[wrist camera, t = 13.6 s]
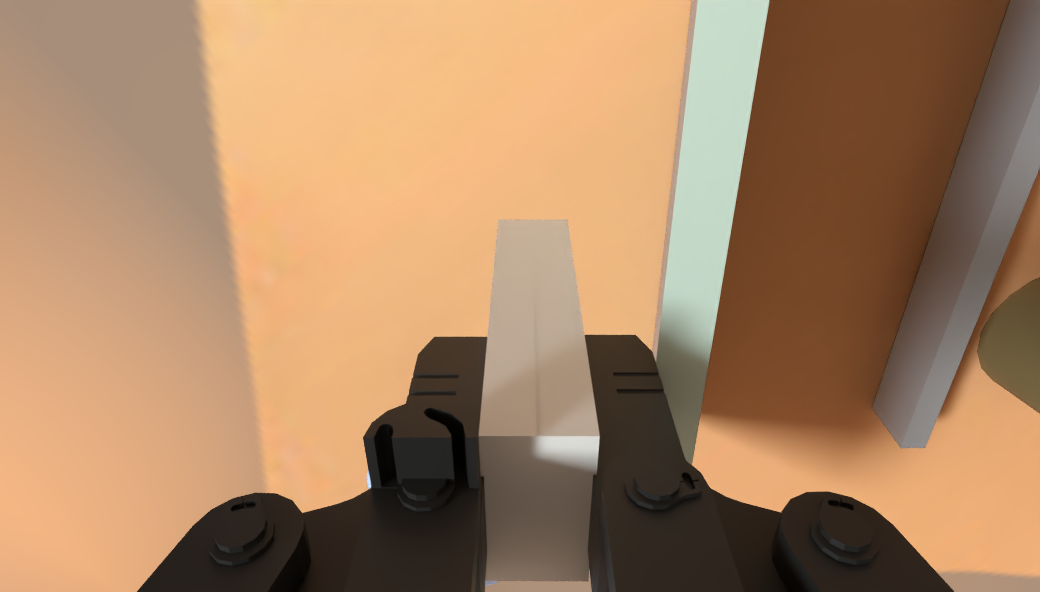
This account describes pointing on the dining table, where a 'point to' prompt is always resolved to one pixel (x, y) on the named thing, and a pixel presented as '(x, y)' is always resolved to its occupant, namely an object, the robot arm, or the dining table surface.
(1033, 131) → the gray parallel rails
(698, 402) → the lid
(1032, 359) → the olive pepper mill
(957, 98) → the dining table surface
